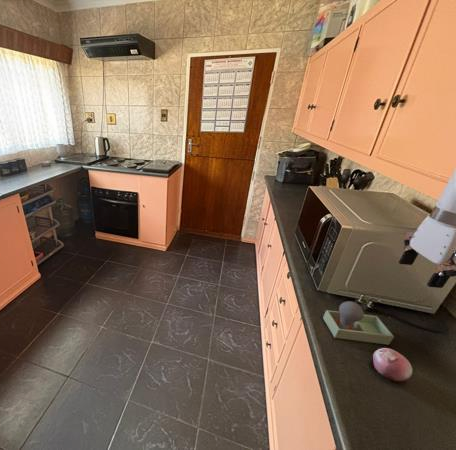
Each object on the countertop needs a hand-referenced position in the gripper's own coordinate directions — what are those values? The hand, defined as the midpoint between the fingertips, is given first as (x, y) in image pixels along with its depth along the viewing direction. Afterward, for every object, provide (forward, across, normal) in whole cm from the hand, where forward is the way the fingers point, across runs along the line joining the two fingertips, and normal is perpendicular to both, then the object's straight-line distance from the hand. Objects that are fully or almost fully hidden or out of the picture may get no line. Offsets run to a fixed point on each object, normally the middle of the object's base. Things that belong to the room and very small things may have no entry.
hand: (418, 274), depth 66 cm
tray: (+24, +1, +7) cm, 25 cm away
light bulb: (+24, +1, +11) cm, 26 cm away
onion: (+25, -12, +6) cm, 28 cm away
